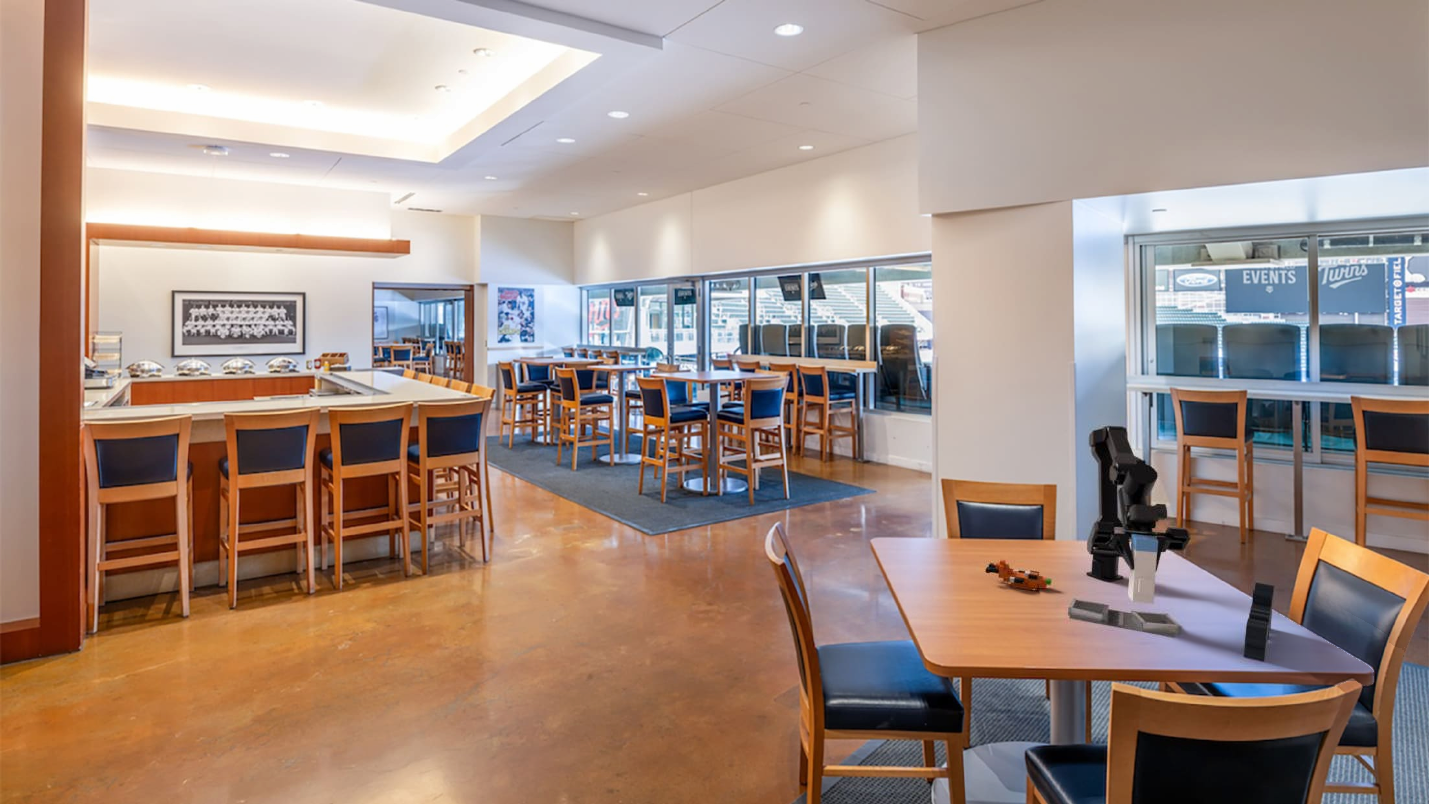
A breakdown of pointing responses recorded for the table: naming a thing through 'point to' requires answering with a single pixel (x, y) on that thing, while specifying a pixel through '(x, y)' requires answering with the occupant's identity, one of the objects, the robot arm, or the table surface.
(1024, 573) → the toy
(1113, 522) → the robot arm
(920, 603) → the table surface
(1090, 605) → the grey square holder
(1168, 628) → the gray square frame
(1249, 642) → the logo
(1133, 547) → the plug
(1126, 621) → the panel
